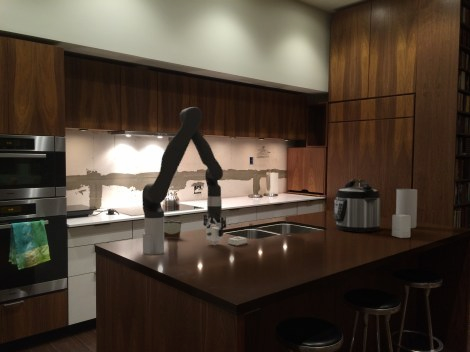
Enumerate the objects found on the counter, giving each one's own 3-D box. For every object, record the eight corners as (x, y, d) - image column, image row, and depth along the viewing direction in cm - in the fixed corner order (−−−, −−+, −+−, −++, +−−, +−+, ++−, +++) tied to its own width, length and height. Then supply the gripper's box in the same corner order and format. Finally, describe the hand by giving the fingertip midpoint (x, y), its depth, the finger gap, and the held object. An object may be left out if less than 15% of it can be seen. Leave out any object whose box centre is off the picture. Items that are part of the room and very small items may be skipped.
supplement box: (410, 237, 226) (411, 215, 225) (400, 238, 223) (401, 216, 223) (401, 234, 233) (401, 213, 232) (391, 235, 230) (391, 214, 230)
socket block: (237, 246, 202) (237, 240, 201) (228, 244, 205) (228, 238, 205) (246, 243, 208) (246, 237, 207) (238, 241, 211) (238, 236, 211)
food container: (184, 236, 226) (184, 219, 226) (182, 238, 220) (182, 220, 220) (163, 235, 228) (163, 218, 227) (160, 237, 221) (160, 220, 221)
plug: (212, 246, 200) (212, 230, 199) (204, 245, 204) (204, 228, 203) (222, 244, 206) (222, 228, 205) (214, 242, 209) (214, 226, 209)
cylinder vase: (391, 225, 264) (392, 189, 263) (406, 224, 268) (407, 188, 266) (404, 229, 252) (405, 190, 251) (420, 228, 256) (421, 190, 255)
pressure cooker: (336, 224, 269) (336, 178, 268) (379, 226, 260) (380, 179, 258) (331, 231, 241) (332, 180, 240) (380, 235, 232) (381, 182, 230)
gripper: (199, 204, 206) (200, 234, 207) (219, 206, 197) (219, 238, 198) (209, 202, 212) (210, 232, 213) (229, 205, 203) (229, 235, 203)
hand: (214, 235), depth 205 cm, fingers open, 8 cm apart
